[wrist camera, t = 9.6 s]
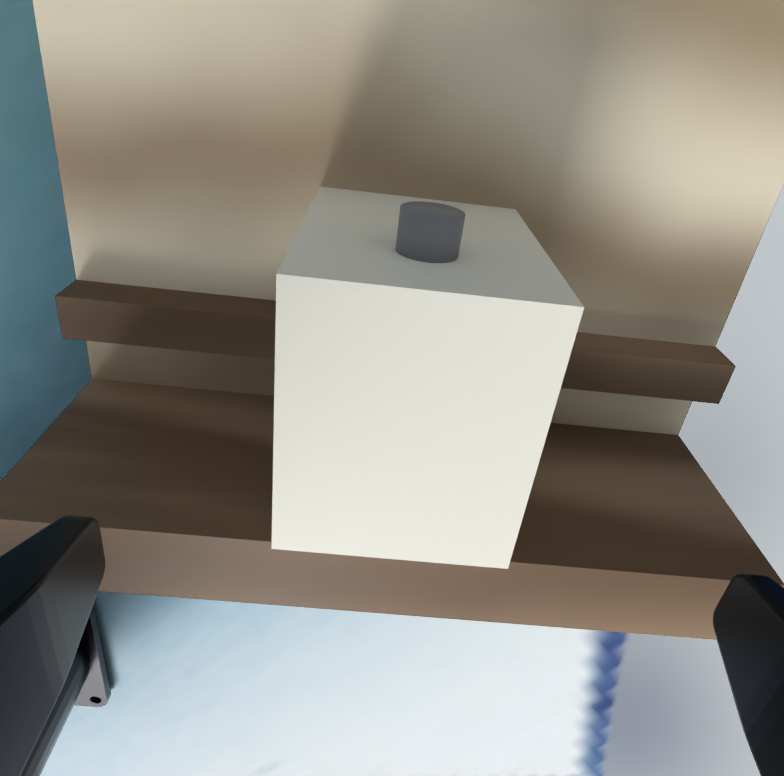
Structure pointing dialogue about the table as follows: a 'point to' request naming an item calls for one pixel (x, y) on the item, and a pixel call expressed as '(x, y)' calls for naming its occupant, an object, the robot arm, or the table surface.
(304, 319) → the white knobbed block
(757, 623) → the robot arm
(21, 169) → the table surface
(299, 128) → the cleat board
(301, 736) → the table surface
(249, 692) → the table surface
